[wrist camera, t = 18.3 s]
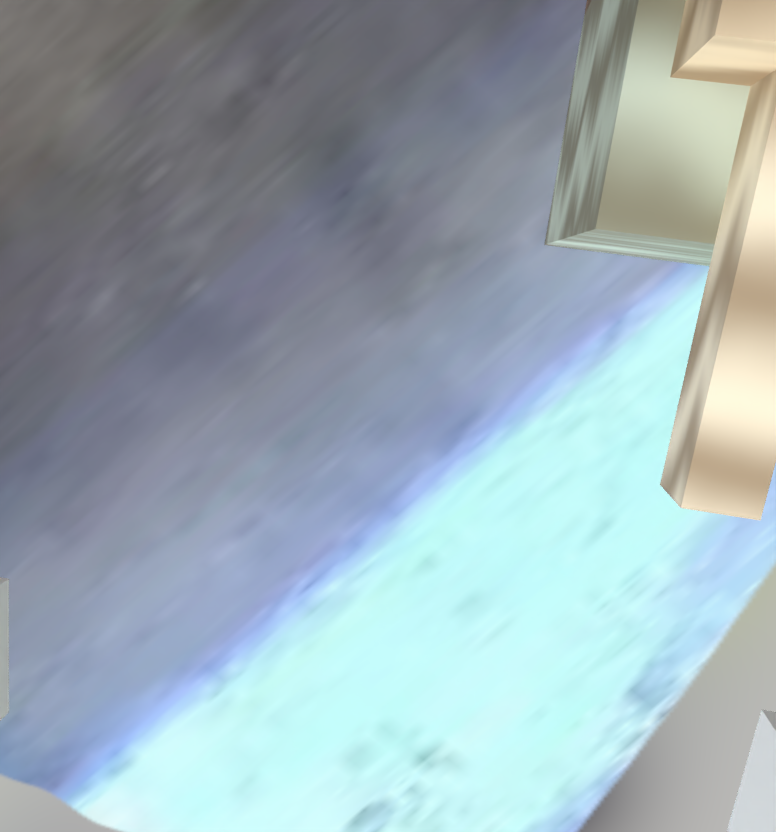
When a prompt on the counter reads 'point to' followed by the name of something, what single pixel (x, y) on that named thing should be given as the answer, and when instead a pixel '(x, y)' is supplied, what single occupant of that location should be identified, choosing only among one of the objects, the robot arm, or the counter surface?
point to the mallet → (733, 279)
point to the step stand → (642, 141)
